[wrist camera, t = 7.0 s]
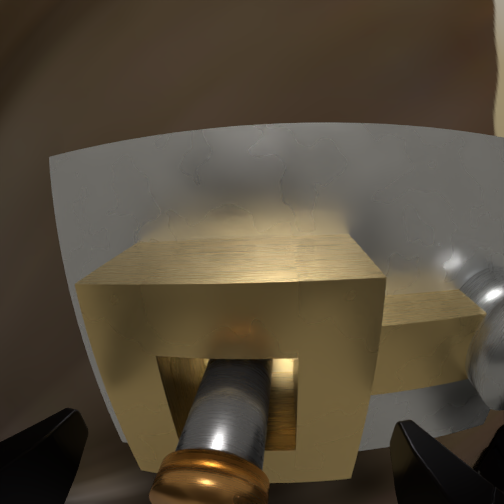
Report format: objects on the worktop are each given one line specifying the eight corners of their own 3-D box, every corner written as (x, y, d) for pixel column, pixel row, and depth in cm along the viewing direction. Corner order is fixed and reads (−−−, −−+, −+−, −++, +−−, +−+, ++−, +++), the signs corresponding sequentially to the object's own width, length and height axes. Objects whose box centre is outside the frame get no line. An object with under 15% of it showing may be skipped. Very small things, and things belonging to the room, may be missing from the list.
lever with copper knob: (279, 305, 12) (264, 491, 5) (280, 360, 13) (268, 536, 5) (212, 306, 13) (134, 473, 5) (219, 360, 13) (165, 524, 6)
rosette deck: (523, 145, 11) (610, 151, 5) (474, 409, 15) (511, 473, 9) (68, 156, 13) (-28, 164, 7) (130, 425, 17) (94, 495, 11)
